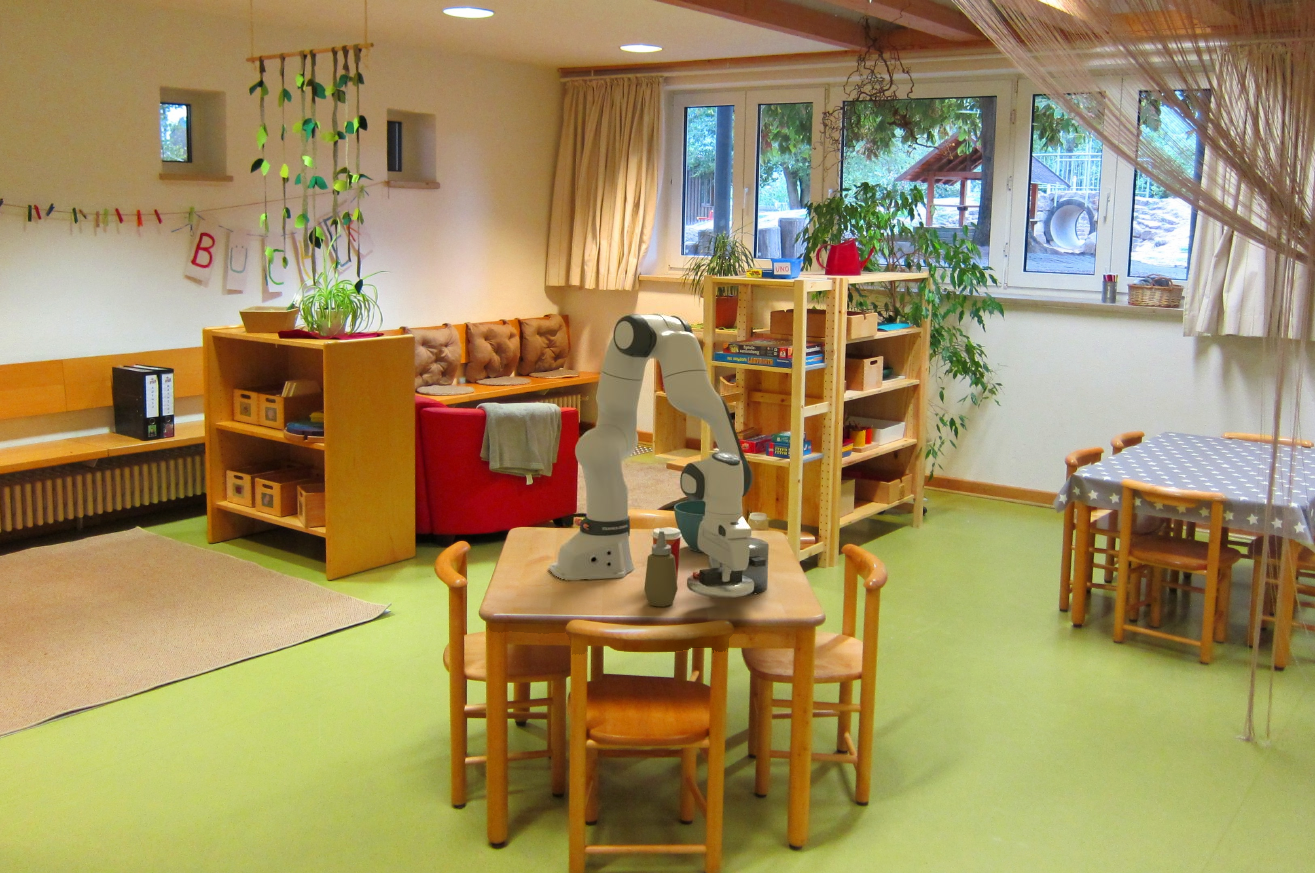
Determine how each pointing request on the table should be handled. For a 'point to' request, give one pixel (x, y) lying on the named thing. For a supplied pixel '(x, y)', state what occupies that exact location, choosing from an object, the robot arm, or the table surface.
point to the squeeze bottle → (661, 574)
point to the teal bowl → (690, 521)
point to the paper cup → (670, 541)
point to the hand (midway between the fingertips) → (720, 577)
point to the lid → (719, 583)
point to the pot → (756, 564)
